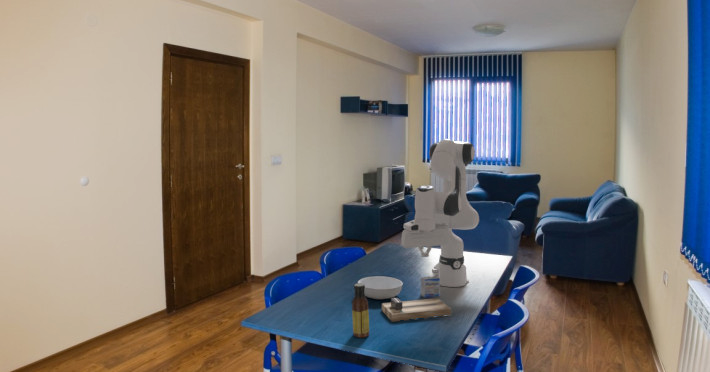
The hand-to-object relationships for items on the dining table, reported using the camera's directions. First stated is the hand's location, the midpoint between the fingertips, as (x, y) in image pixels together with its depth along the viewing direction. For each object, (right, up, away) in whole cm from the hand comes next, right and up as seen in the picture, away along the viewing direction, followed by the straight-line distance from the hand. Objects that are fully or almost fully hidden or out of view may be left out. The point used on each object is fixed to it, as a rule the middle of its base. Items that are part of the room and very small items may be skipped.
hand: (424, 256), depth 219 cm
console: (-4, -24, +1) cm, 24 cm away
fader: (-12, -21, -1) cm, 24 cm away
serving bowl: (-18, -22, +23) cm, 37 cm away
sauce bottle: (-27, -27, -22) cm, 45 cm away
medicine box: (+6, -22, +24) cm, 33 cm away
